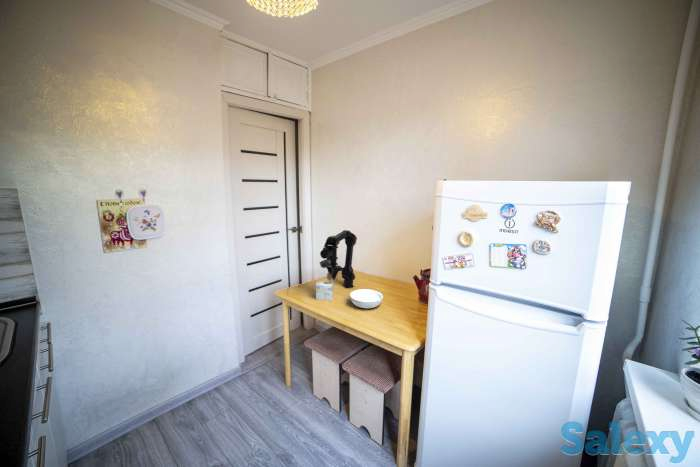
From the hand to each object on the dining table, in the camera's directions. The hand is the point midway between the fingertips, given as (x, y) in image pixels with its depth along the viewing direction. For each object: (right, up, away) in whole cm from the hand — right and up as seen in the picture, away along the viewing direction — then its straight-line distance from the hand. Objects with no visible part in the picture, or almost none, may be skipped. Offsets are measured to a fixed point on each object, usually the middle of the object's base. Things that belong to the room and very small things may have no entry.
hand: (332, 278), depth 185 cm
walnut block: (0, -1, 0) cm, 1 cm away
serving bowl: (+22, -16, -9) cm, 29 cm away
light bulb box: (-5, -14, 0) cm, 15 cm away
